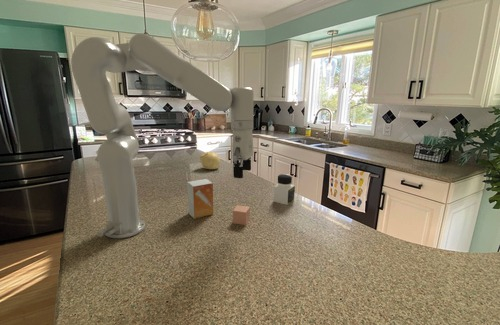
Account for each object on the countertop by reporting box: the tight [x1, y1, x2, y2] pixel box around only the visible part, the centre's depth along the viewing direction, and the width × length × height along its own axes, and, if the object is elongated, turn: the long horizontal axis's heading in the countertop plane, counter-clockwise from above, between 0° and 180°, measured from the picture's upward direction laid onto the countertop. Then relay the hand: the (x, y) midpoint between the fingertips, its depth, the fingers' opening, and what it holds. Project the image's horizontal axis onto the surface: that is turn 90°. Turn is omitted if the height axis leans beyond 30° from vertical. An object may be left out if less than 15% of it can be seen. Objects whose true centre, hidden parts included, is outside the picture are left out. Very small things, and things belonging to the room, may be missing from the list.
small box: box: [186, 178, 214, 220], centre depth 100 cm, size 8×6×13 cm
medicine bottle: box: [272, 173, 296, 206], centre depth 114 cm, size 7×7×12 cm
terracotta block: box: [232, 204, 251, 226], centre depth 96 cm, size 5×5×5 cm
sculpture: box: [199, 151, 221, 170], centre depth 165 cm, size 12×12×11 cm
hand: (242, 173), depth 92 cm, fingers open, 9 cm apart
